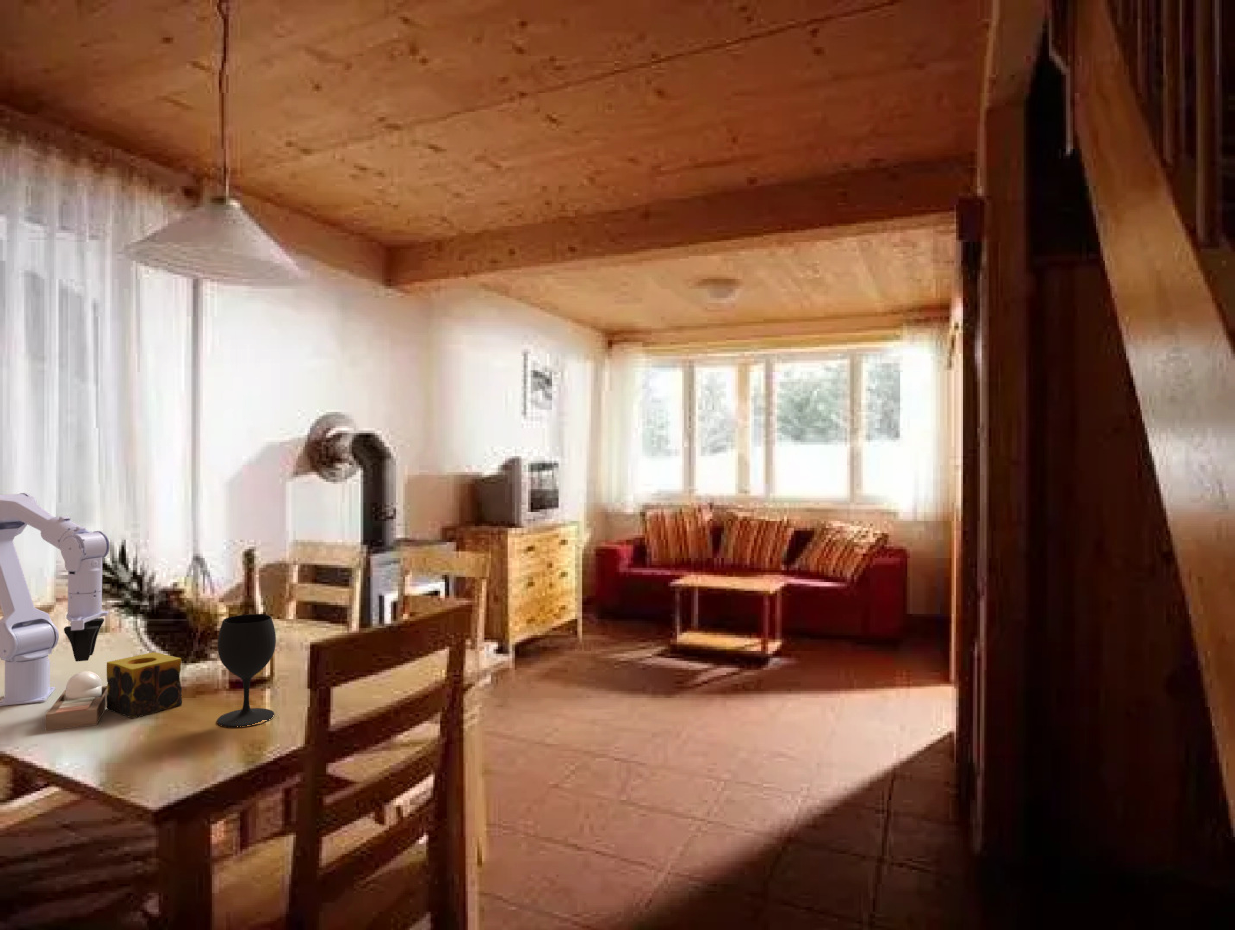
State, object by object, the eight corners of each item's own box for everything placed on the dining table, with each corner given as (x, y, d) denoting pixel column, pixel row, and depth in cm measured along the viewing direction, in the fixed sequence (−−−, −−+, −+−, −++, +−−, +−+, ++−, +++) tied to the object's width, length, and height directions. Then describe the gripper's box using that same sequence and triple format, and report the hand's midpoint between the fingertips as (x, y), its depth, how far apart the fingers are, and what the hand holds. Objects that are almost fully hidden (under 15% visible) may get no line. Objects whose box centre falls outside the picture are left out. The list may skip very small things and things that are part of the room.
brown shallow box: (64, 704, 157) (65, 689, 157) (110, 699, 160) (111, 684, 160) (45, 730, 142) (45, 713, 142) (96, 724, 146) (96, 708, 146)
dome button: (69, 698, 156) (69, 669, 156) (104, 694, 158) (104, 666, 158) (62, 707, 150) (62, 677, 150) (98, 703, 153) (98, 674, 153)
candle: (183, 705, 158) (183, 658, 158) (131, 719, 149) (132, 669, 149) (156, 696, 163) (156, 650, 163) (105, 710, 154) (105, 661, 154)
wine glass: (259, 706, 158) (261, 611, 158) (284, 718, 151) (285, 618, 151) (207, 719, 150) (208, 618, 150) (230, 732, 143) (232, 627, 143)
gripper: (102, 596, 149) (101, 665, 149) (114, 584, 162) (113, 647, 162) (58, 598, 146) (57, 668, 146) (74, 586, 159) (73, 650, 159)
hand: (84, 658), depth 154 cm, fingers open, 4 cm apart
